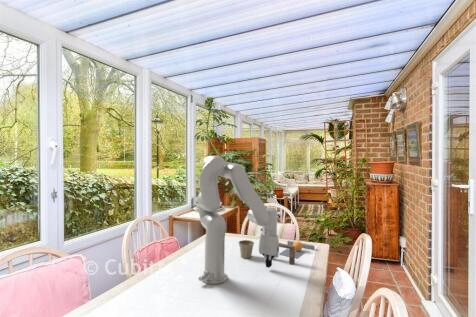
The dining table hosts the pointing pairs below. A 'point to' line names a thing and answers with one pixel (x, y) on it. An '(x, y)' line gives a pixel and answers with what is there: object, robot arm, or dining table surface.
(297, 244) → the ball
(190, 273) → the dining table surface
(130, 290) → the dining table surface
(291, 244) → the stopper
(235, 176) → the robot arm
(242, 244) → the flower pot
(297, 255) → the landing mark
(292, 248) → the bridge
